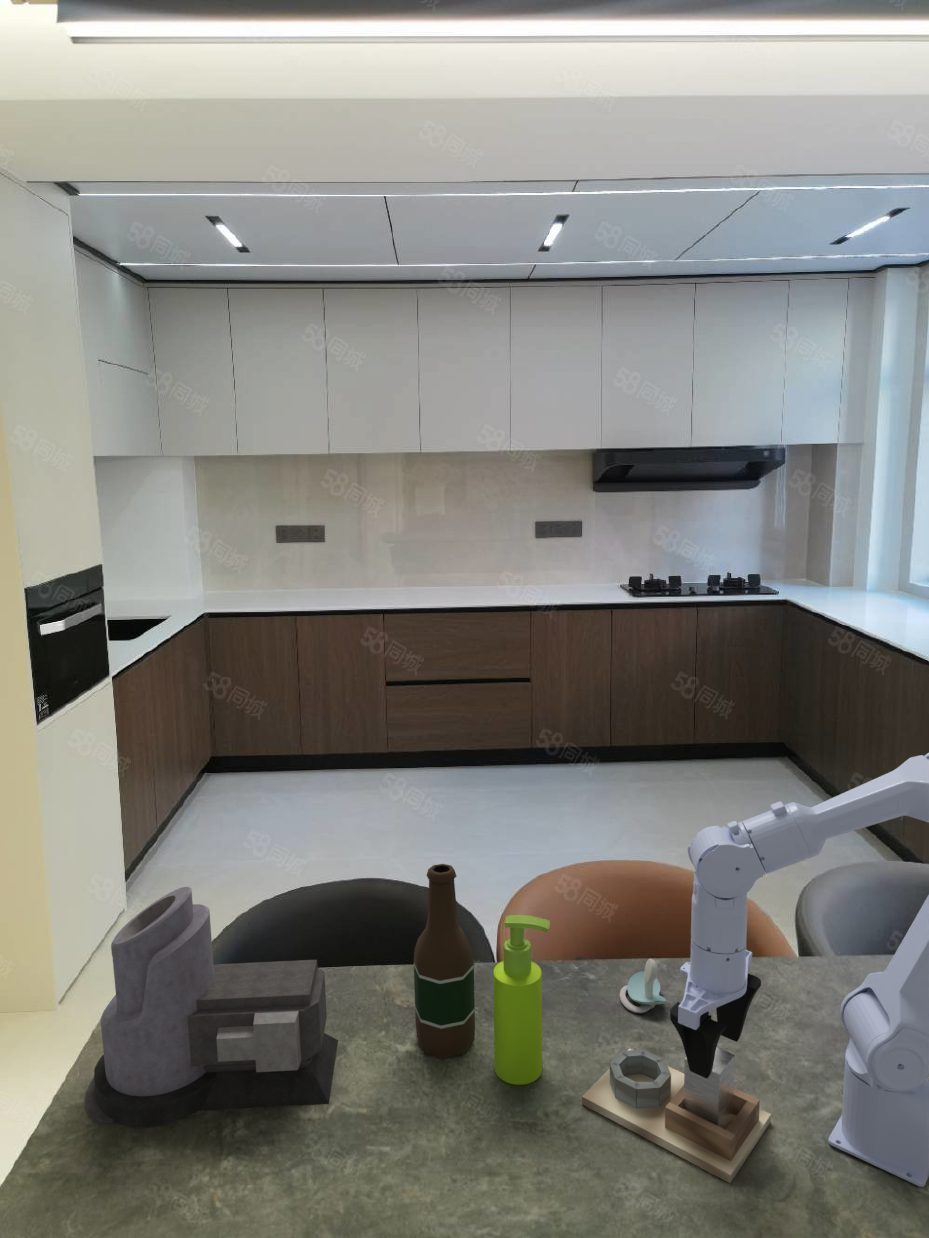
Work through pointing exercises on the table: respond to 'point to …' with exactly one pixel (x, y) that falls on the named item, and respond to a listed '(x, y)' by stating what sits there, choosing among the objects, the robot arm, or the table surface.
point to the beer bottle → (443, 973)
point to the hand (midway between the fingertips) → (715, 1054)
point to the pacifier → (643, 989)
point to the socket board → (675, 1113)
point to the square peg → (712, 1090)
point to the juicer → (205, 1026)
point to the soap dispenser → (518, 1005)
